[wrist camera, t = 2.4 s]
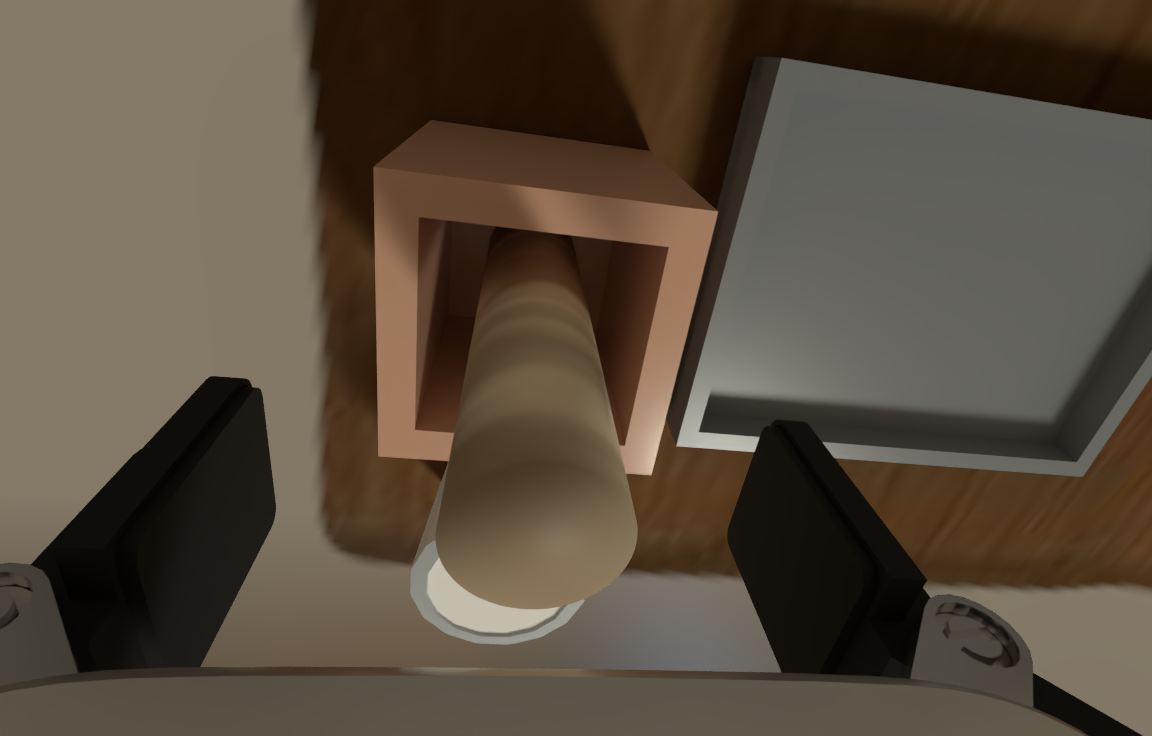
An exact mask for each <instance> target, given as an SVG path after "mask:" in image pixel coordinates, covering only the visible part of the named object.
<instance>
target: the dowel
mask: <svg viewBox="0 0 1152 736" xmlns="http://www.w3.org/2000/svg"><path fill="white" fill-rule="evenodd" d="M637 530H638V529H637V522H636V516H635V512H634V508H633V503H632V499H631V494H630V490H629V486H628V481H627V477H626V472H625V468H624V464H623V459H622V455H621V450H620V446H619V442H618V437H617V433H616V428H615V424H614V420H613V415H612V411H611V406H610V402H609V398H608V393H607V389H606V384H605V380H604V376H603V371H602V367H601V363H600V358H599V354H598V349H597V345H596V341H595V336H594V332H593V327H592V323H591V319H590V314H589V310H588V305H587V301H586V297H585V292H584V288H583V283H582V279H581V275H580V270H579V266H578V261H577V257H576V253H575V248H574V244H573V240H572V236H571V235H564V234H556V233H548V232H539V231H531V230H523V229H514V228H506V227H498V226H496V228H495V229H494V231H493V233H492V236H491V239H490V244H489V250H488V255H487V260H486V266H485V271H484V276H483V282H482V287H481V292H480V298H479V303H478V308H477V314H476V319H475V324H474V330H473V335H472V340H471V346H470V351H469V356H468V362H467V367H466V372H465V378H464V383H463V388H462V394H461V399H460V404H459V410H458V415H457V420H456V426H455V431H454V436H453V442H452V447H451V452H450V458H449V463H448V468H447V474H446V479H445V484H444V490H443V495H442V500H441V506H440V511H439V516H438V522H437V527H436V548H437V553H438V556H439V558H440V561H441V563H442V565H443V566H444V568H445V570H446V571H447V573H448V574H449V575H450V576H451V578H452V579H453V580H454V581H455V582H456V583H458V584H459V585H460V586H461V587H462V588H464V589H465V590H466V591H468V592H469V593H471V594H473V595H475V596H477V597H478V598H481V599H483V600H485V601H488V602H490V603H494V604H497V605H500V606H505V607H510V608H518V609H549V608H555V607H561V606H565V605H568V604H572V603H575V602H578V601H581V600H583V599H585V598H587V597H590V596H592V595H594V594H595V593H597V592H599V591H600V590H602V589H604V588H605V587H606V586H608V585H609V584H610V583H612V582H613V581H614V580H615V579H616V578H617V577H618V576H619V575H620V574H621V572H622V571H623V570H624V569H625V567H626V566H627V564H628V563H629V561H630V559H631V557H632V555H633V552H634V550H635V546H636V542H637Z"/></svg>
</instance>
